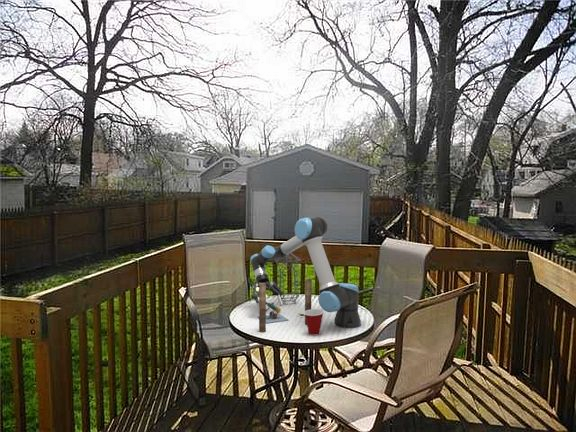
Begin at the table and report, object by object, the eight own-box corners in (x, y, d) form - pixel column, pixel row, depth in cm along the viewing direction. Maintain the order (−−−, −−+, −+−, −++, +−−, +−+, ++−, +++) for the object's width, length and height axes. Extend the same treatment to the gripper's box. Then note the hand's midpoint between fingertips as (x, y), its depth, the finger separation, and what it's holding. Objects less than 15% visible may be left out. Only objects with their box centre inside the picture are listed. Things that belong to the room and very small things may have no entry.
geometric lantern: (279, 306, 291) (278, 253, 289) (274, 300, 306) (273, 250, 304) (302, 304, 294) (302, 252, 293) (296, 299, 310) (295, 249, 308)
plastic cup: (302, 330, 243) (302, 308, 242) (322, 329, 244) (322, 308, 243) (304, 336, 232) (304, 314, 231) (325, 336, 233) (325, 314, 232)
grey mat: (288, 320, 260) (288, 319, 260) (266, 323, 254) (266, 322, 254) (278, 314, 273) (278, 313, 273) (257, 317, 267) (257, 316, 267)
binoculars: (274, 323, 259) (283, 308, 261) (262, 316, 255) (271, 301, 257) (268, 319, 267) (276, 304, 269) (256, 312, 263) (264, 297, 265)
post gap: (312, 324, 252) (312, 279, 250) (260, 332, 239) (260, 284, 237) (309, 323, 255) (309, 278, 254) (258, 330, 242) (258, 283, 240)
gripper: (278, 278, 285) (288, 307, 272) (241, 281, 274) (249, 312, 261) (281, 271, 280) (292, 300, 267) (244, 274, 269) (253, 305, 256)
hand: (271, 306), depth 264 cm, fingers open, 13 cm apart
